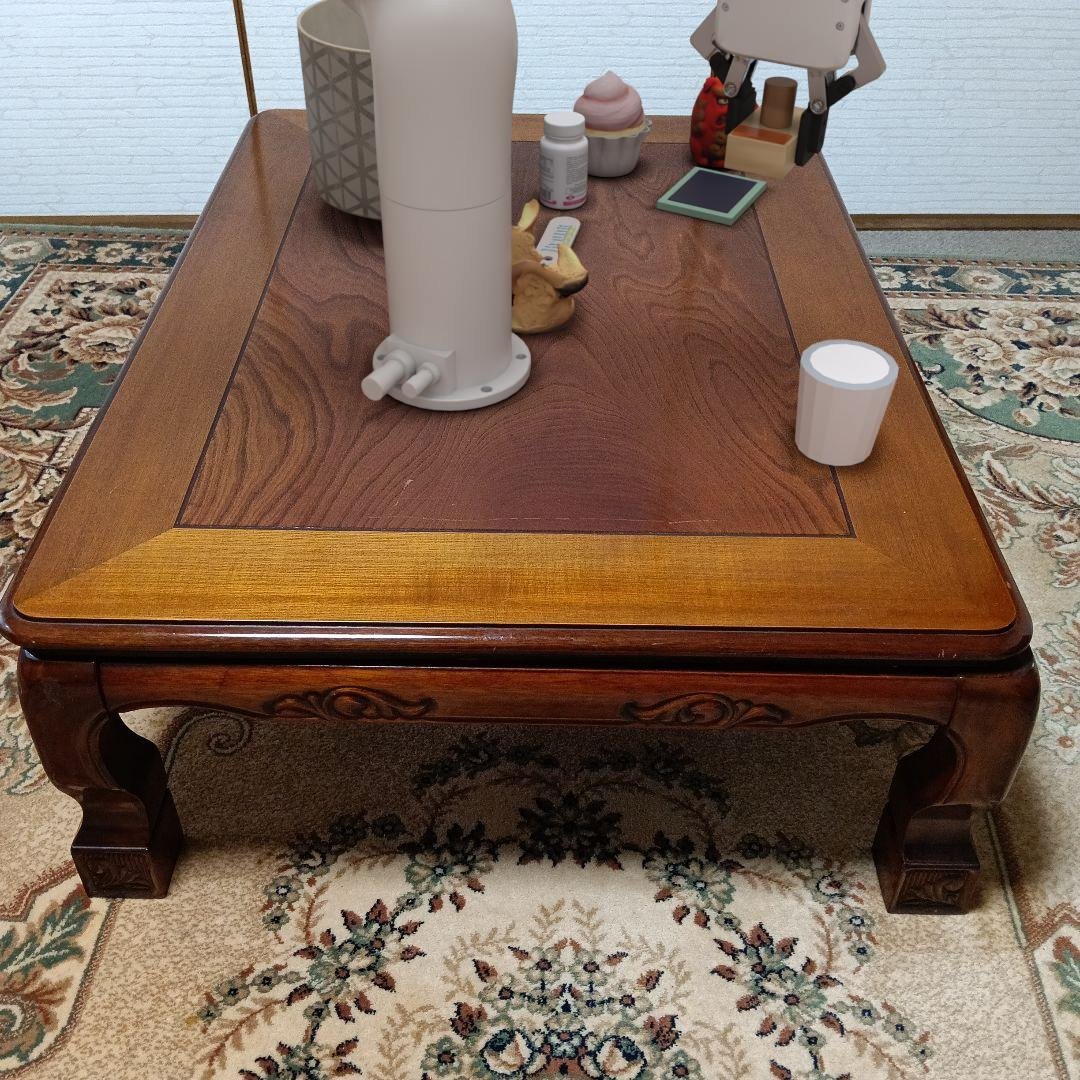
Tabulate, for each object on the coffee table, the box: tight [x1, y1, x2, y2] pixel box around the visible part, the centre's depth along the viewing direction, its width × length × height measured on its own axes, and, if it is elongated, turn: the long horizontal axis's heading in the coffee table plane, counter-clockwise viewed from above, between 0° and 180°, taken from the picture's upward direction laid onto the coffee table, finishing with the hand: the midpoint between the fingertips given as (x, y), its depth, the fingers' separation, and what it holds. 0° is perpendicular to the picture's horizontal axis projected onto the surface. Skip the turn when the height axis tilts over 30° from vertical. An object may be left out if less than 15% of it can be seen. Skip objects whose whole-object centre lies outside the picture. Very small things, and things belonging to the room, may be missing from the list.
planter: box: [296, 0, 382, 223], centre depth 114 cm, size 19×19×18 cm
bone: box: [511, 198, 590, 335], centre depth 102 cm, size 12×10×8 cm
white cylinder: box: [794, 339, 900, 467], centre depth 87 cm, size 7×7×7 cm
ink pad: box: [656, 166, 768, 227], centre depth 122 cm, size 10×8×1 cm
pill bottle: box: [538, 110, 588, 210], centre depth 119 cm, size 5×5×8 cm
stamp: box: [723, 75, 807, 181], centre depth 89 cm, size 8×4×6 cm, turn 152°
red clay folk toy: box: [688, 76, 760, 169], centre depth 126 cm, size 8×7×15 cm
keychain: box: [535, 216, 581, 266], centre depth 114 cm, size 10×1×3 cm
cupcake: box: [572, 69, 653, 178], centre depth 125 cm, size 9×9×10 cm
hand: (771, 150), depth 91 cm, fingers closed on stamp, 4 cm apart
